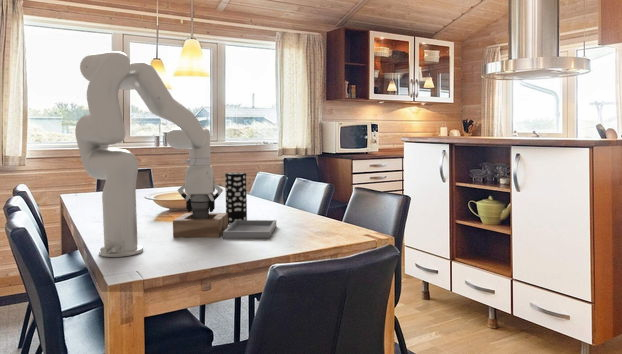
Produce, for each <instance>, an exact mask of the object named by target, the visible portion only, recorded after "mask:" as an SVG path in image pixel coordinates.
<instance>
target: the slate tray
mask: <svg viewBox="0 0 622 354" xmlns="http://www.w3.org/2000/svg"><path fill="white" fill-rule="evenodd" d="M276 229H277V219H276V220H274V219H273V220H272V219H269V220H266V219H265V220H263V219H261V220H260V219H258V220H257V219H256V220H254V219H252V220H251V219H250V220H249V219H247V220H235V221H234V222H233V223H232V224H231V225H230V224H229V225H228V227H227V228H226V229H225V230H224V231H223V234H222V239H223V240H271V237H272V236H273V233H274V232H275V230H276Z"/></svg>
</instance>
